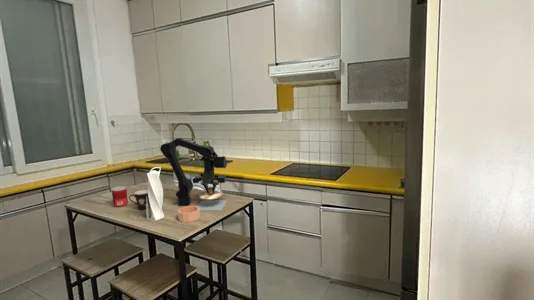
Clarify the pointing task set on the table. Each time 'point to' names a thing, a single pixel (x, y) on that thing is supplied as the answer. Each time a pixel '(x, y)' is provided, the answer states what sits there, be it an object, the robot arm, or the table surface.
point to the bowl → (188, 214)
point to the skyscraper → (154, 196)
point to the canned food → (119, 196)
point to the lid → (210, 194)
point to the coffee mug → (141, 199)
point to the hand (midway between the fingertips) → (210, 193)
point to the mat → (211, 204)
